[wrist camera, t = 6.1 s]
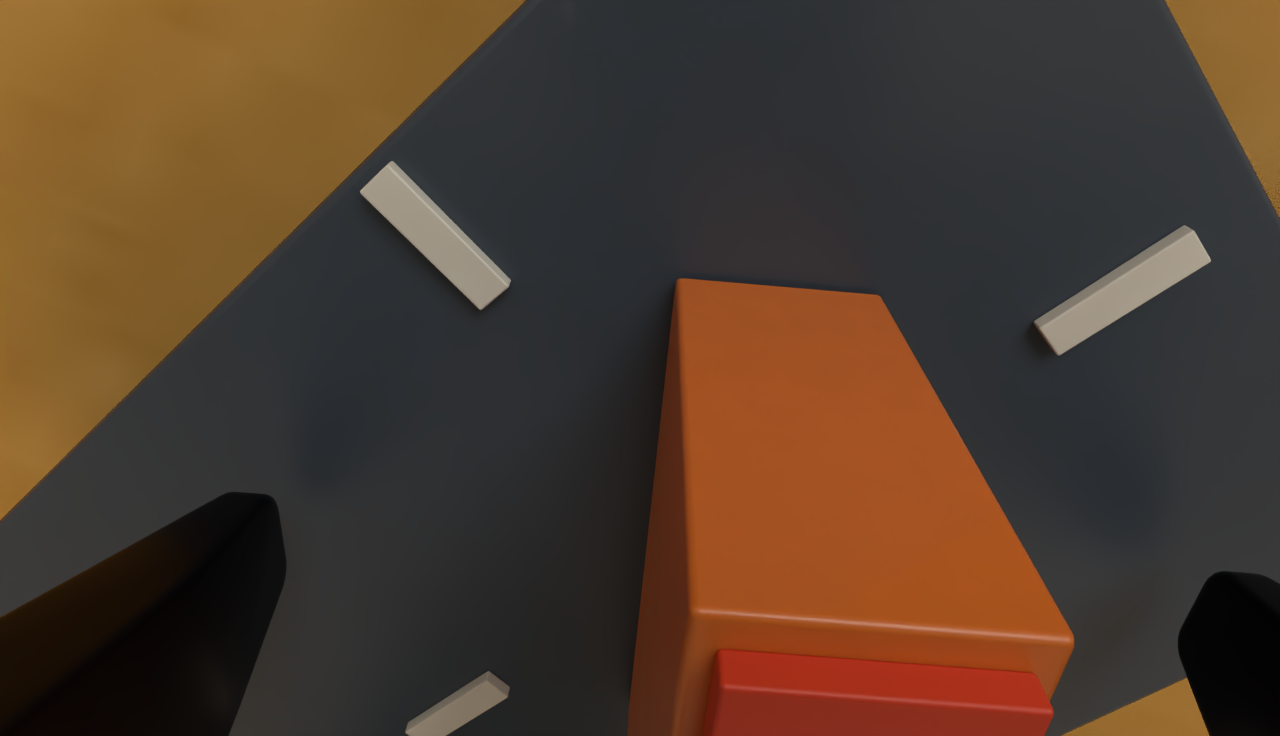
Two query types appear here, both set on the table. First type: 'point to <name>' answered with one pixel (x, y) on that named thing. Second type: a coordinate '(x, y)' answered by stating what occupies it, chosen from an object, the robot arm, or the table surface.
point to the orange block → (826, 539)
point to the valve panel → (640, 330)
